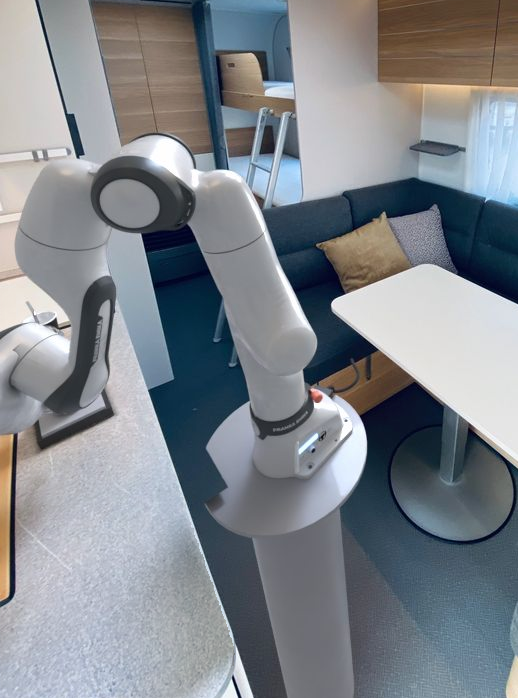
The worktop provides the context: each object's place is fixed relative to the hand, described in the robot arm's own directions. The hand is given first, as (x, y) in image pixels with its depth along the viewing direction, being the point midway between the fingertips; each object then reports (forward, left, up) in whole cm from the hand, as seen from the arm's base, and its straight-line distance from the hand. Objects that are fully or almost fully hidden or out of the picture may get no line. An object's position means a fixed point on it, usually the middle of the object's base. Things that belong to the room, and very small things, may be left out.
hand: (48, 407), depth 84 cm
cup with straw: (-2, -31, -11) cm, 33 cm away
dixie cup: (-2, -42, -11) cm, 43 cm away
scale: (-3, -9, -11) cm, 14 cm away
